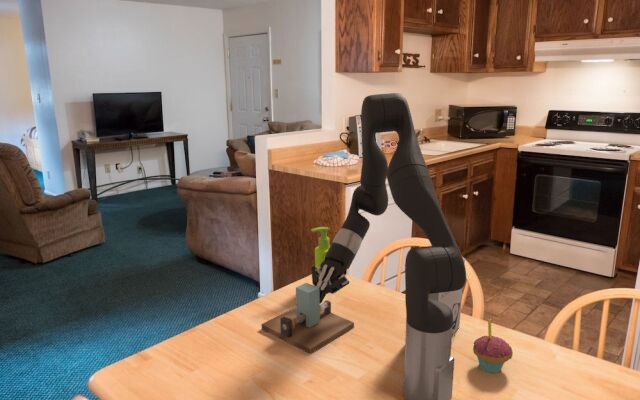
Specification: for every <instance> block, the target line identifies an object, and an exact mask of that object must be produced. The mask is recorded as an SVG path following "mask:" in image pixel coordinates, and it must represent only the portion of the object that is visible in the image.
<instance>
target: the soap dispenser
mask: <svg viewBox="0 0 640 400" xmlns="http://www.w3.org/2000/svg"><path fill="white" fill-rule="evenodd" d="M310 231H312V233H317V232H321V233H320V234H321V236H319V237H318V246H316V247H315V248H314V266H315V267H318V266H320V265H321V263H322V262H323V261H324V260H325V255H326V253H327V251H328V249H329V247H330V246H331V244H330V243H331V242H330V240H331V239H330V236H328V235H327V234H328V231H330V227H328V226H318V227H314V228H311V229H310Z"/></svg>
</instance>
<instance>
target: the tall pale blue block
mask: <svg viewBox="0 0 640 400" xmlns="http://www.w3.org/2000/svg"><path fill="white" fill-rule="evenodd" d="M320 305H321V304H320V292H319V287H316V286H314V285H313V284H311V283H308V282H304V283H302V284H301V285H298V286H296V287H295V307H296V317H298V316H300V315H301V314H305V315H306V319H305V320H306V326H307V327H309V328H310V327H312V326H314V325H316V324H317V323H319V322H320ZM305 320H303V321H301V322H300V323H302V322H304V321H305Z"/></svg>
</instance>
